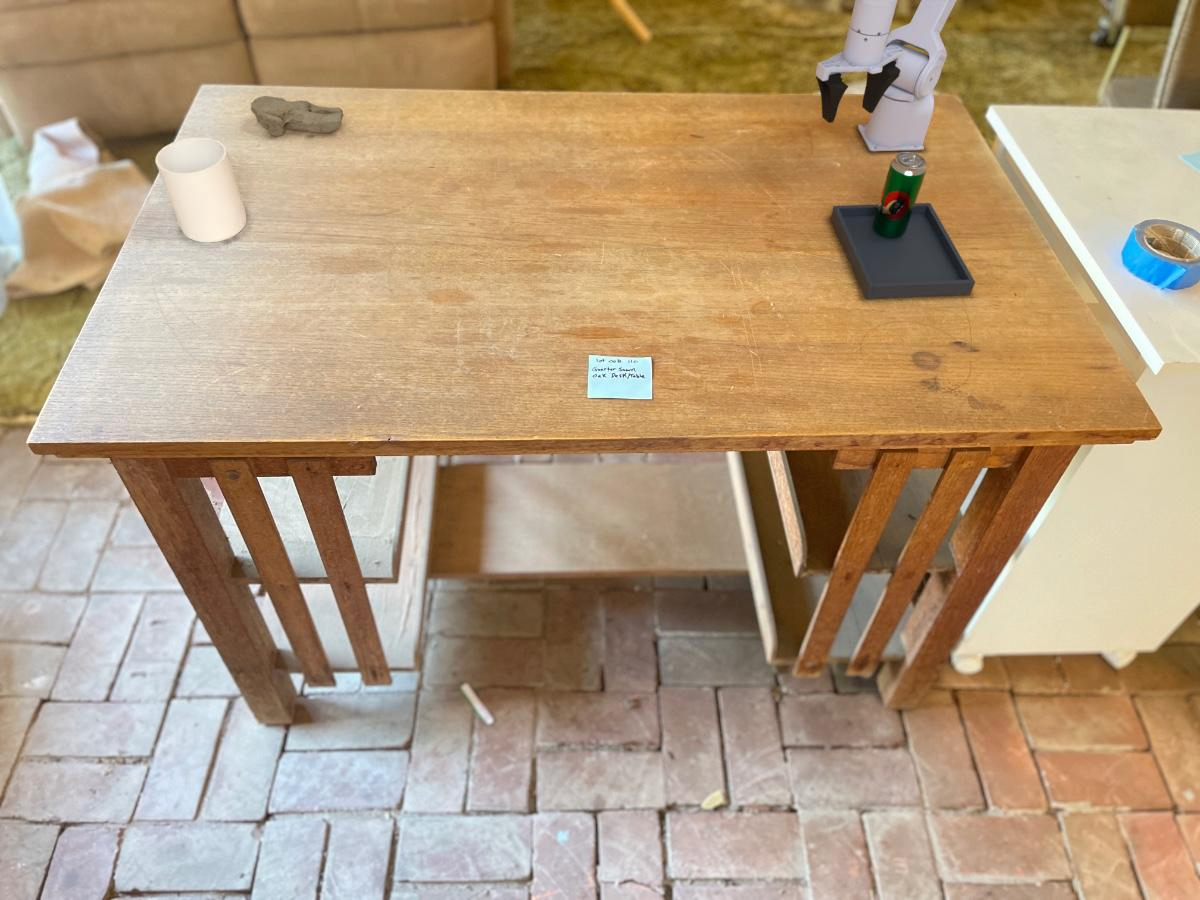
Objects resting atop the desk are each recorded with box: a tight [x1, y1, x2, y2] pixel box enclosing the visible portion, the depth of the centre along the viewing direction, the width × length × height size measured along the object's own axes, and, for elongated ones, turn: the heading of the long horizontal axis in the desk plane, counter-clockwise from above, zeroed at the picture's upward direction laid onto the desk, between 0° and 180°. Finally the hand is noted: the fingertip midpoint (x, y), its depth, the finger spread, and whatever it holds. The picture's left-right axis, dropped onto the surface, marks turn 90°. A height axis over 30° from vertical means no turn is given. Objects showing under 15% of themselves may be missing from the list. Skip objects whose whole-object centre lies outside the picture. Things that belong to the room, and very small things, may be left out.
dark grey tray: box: [830, 202, 976, 300], centre depth 136 cm, size 15×19×2 cm
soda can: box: [873, 151, 927, 238], centre depth 135 cm, size 5×5×12 cm
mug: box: [154, 136, 247, 244], centre depth 133 cm, size 10×12×12 cm
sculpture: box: [250, 95, 344, 137], centre depth 154 cm, size 7×5×15 cm
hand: (847, 114), depth 143 cm, fingers open, 7 cm apart
